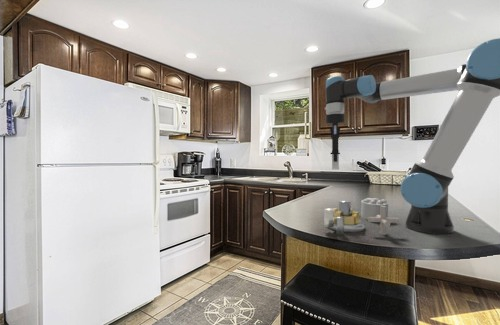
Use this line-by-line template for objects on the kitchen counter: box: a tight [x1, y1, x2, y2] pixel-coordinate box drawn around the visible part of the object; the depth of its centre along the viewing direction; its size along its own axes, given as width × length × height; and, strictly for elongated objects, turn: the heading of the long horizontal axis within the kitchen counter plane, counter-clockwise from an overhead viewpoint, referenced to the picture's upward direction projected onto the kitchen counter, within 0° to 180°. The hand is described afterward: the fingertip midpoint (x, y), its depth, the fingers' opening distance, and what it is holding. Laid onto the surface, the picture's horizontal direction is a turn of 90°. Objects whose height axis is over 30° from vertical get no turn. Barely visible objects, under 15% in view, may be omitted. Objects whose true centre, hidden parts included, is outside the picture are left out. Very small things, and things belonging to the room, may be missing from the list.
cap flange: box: [327, 200, 365, 233], centre depth 101 cm, size 14×14×10 cm
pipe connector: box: [366, 206, 400, 236], centre depth 91 cm, size 10×10×10 cm
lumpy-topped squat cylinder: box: [360, 197, 389, 220], centre depth 116 cm, size 10×13×9 cm
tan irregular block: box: [323, 207, 361, 228], centre depth 98 cm, size 18×11×6 cm, turn 131°
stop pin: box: [335, 217, 344, 236], centre depth 91 cm, size 2×2×6 cm
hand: (335, 169), depth 110 cm, fingers closed
